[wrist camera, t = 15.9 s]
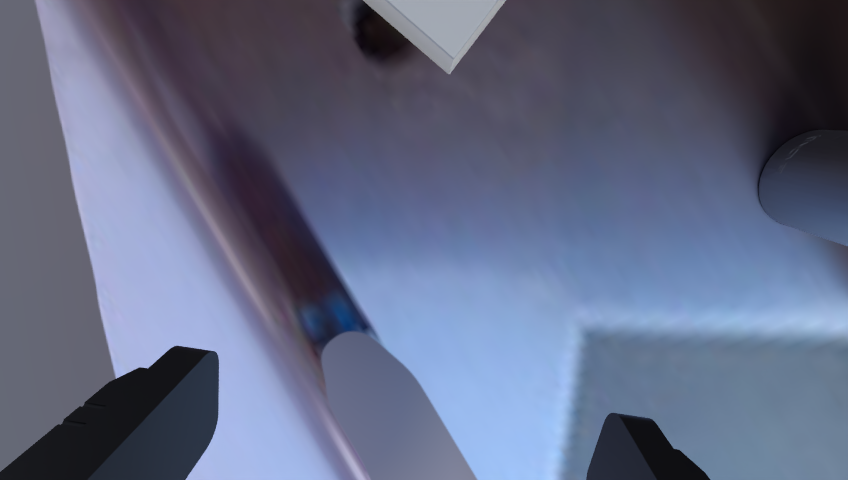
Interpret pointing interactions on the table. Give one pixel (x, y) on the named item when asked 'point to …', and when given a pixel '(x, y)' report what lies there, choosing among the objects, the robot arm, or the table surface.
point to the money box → (439, 24)
